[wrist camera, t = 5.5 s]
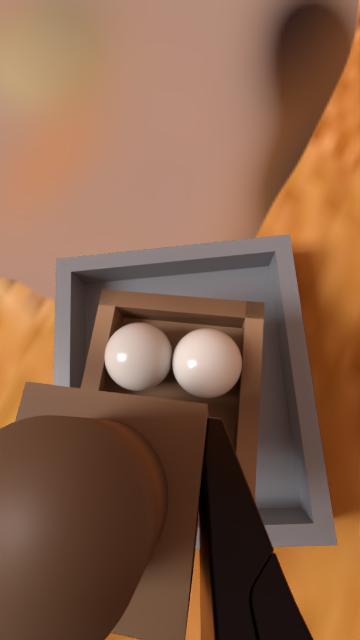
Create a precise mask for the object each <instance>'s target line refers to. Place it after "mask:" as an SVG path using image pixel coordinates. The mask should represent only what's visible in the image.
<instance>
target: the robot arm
mask: <svg viewBox="0 0 360 640" xmlns="http://www.w3.org/2000/svg"><path fill="white" fill-rule="evenodd" d="M199 542H200V608H201V640H313V638H312V636H311V634H310V632H309V629H308V627H307V625H306V623H305V621H304V619H303V617H302V615H301V613H300V611H299V608H298V606H297V604H296V602H295V600H294V597H293V595H292V593H291V590H290V588H289V585H288V583H287V581H286V578H285V576H284V574H283V571H282V569H281V566H280V563H279V561H278V558H277V556H276V554H275V553H273V551H274V549H273V546H272V544H271V541H270V539H269V536H268V533H267V531H266V528H265V526H264V523H263V521H262V518H261V516H260V513H259V511H258V508H257V505H256V503H255V500H254V498H253V495H252V493H251V490H250V488H249V485H248V483H247V480H246V478H245V475H244V472H243V470H242V467H241V465H240V462H239V460H238V457H237V455H236V452H235V450H234V447H233V444H232V442H231V439H230V437H229V434H228V432H227V429H226V427H225V424H224V422H223V420H222V419H221V418H215V417H208V418H207V427H206V436H205V446H204V455H203V465H202V478H201V490H200V502H199Z"/></svg>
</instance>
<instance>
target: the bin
mask: <svg viewBox="0 0 360 640" xmlns="http://www.w3.org/2000/svg"><path fill="white" fill-rule="evenodd" d="M102 289H106V290H118V291H130V292H142V293H154V294H166V295H178V296H190V297H202V298H214V299H226V300H238V301H250V302H263V303H264V324H263V345H262V366H261V387H260V407H259V428H258V449H257V470H256V491H255V503H256V505H257V508H258V511H259V513H260V516H261V518H262V521H263V523H264V526H265V528H266V531H267V533H268V536H269V539H270V541H271V544H272V546H273V547H285V546H325V545H337V539H336V533H335V526H334V520H333V513H332V507H331V500H330V493H329V487H328V480H327V474H326V467H325V461H324V454H323V448H322V441H321V435H320V428H319V422H318V415H317V409H316V402H315V396H314V389H313V382H312V376H311V369H310V363H309V356H308V350H307V343H306V337H305V330H304V324H303V317H302V311H301V304H300V298H299V291H298V285H297V278H296V271H295V265H294V258H293V252H292V245H291V239H290V235H281V236H271V237H261V238H252V239H242V240H233V241H223V242H214V243H205V244H194V245H185V246H176V247H166V248H157V249H146V250H137V251H127V252H117V253H108V254H99V255H89V256H79V257H70V258H61V259H57V260H56V297H55V341H54V384H53V385H57V386H65V387H73V388H81V384H82V380H83V375H84V370H85V366H86V361H87V356H88V352H89V347H90V343H91V338H92V333H93V329H94V324H95V319H96V315H97V310H98V306H99V301H100V296H101V292H102ZM196 549H200V542H199V524H198V533H197V541H196Z"/></svg>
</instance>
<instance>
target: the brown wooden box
mask: <svg viewBox="0 0 360 640" xmlns="http://www.w3.org/2000/svg"><path fill="white" fill-rule="evenodd" d="M139 322H140V323H147V324H151V325H153V326H155V327H157V328H158V329H160V330H161V331H162V332H163V333H164V334H165V335H166V336H167V338H168V339H169V341H170V344H171V346H172V351H173V353H174V350H175V348H176V346H177V344H178V343H179V341H180V340H181V339H182V338H183V337H184V336H185V335H187V334H188V333H190V332H192V331H194V330H197V329H201V328H212V329H217V330H220V331H222V332H224V333H225V334H227V335H228V336H230V337H231V338H232V339H233V340H234V342H235V343H236V345H237V346H238V348H239V350H240V353H241V357H242V370H241V374H240V377H239V379H238V381H237V383H236V384H235V385H234V387H233V388H232V389H231V390H229V391H228V392H227V393H225V394H223V395H221V396H219V397H215V398H200V397H196V396H194V395H192V394H190V393H188V392H187V391H185V390H184V389H183V388H182V387H181V386H180V384H179V383H178V382H177V380H176V378H175V375H174V372H173V368H172V366H171V369H170V371H169V373H168V375H167V376H166V377H165V379H164V380H163V381H162V382H161V383H159V384H158V385H157V386H155V387H153V388H151V389H148V390H143V391H133V390H129V389H126V388H123V387H121V386H120V385H118V384H117V383H116V382H115V381H114V380H113V379H112V378H111V377H110V375H109V373H108V371H107V369H106V366H105V360H104V355H105V349H106V345H107V343H108V341H109V339H110V338H111V336H112V335H113V334H114V333H115V332H116V331H117V330H118V329H120V328H121V327H123V326H125V325H128V324H131V323H139ZM263 324H264V303H263V302H250V301H238V300H226V299H214V298H202V297H190V296H178V295H166V294H154V293H142V292H130V291H118V290H106V289H102V292H101V296H100V301H99V306H98V310H97V315H96V319H95V324H94V329H93V333H92V338H91V343H90V347H89V352H88V356H87V361H86V366H85V370H84V375H83V380H82V384H81V388H73V387H65V386H57V385H49V384H41V383H32V382H26V383H25V387H24V391H23V394H22V398H21V402H20V406H19V409H18V413H17V417H16V420H15V422H14V423H11V424H9V425H7V426H5V427H3V428H1V429H0V640H104V639H105V638H106V637H107V636H108V635H109V634H110V633H114V634H118V635H123V636H127V637H132V638H137V639H141V640H185V635H186V627H187V618H188V610H189V601H190V592H191V584H192V575H193V567H194V558H195V550H196V541H197V533H198V524H199V502H200V490H201V478H202V465H203V455H204V446H205V436H206V427H207V418H208V417H215V418H221V419H222V420H223V422H224V424H225V427H226V429H227V432H228V434H229V437H230V439H231V442H232V444H233V447H234V450H235V452H236V455H237V457H238V460H239V462H240V465H241V467H242V470H243V472H244V475H245V478H246V480H247V483H248V485H249V488H250V490H251V493H252V495H253V498H254V500H255V491H256V470H257V449H258V428H259V407H260V387H261V366H262V345H263Z"/></svg>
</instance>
